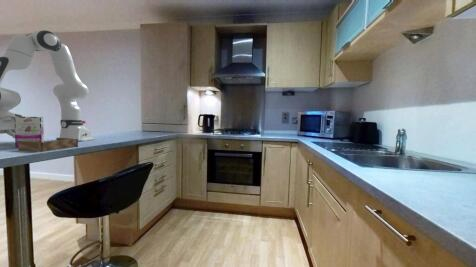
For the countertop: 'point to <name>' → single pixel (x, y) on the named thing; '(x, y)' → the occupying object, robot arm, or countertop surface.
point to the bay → (48, 144)
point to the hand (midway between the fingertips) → (17, 137)
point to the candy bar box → (29, 129)
